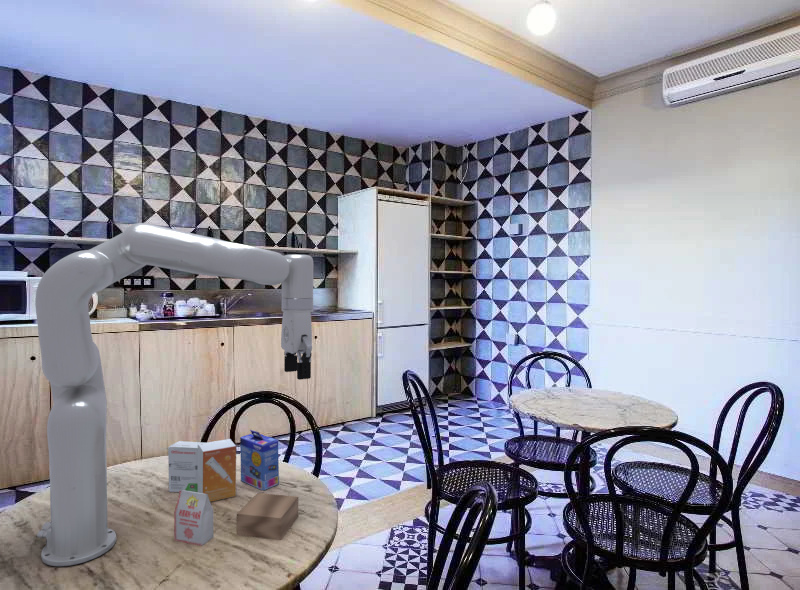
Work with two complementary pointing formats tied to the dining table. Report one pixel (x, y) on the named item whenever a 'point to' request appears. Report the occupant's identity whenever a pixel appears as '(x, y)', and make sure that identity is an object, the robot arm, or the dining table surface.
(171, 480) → the ink box
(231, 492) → the small box
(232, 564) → the dining table surface
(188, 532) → the white carton
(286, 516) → the base block
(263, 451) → the ink cartridge box
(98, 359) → the robot arm
